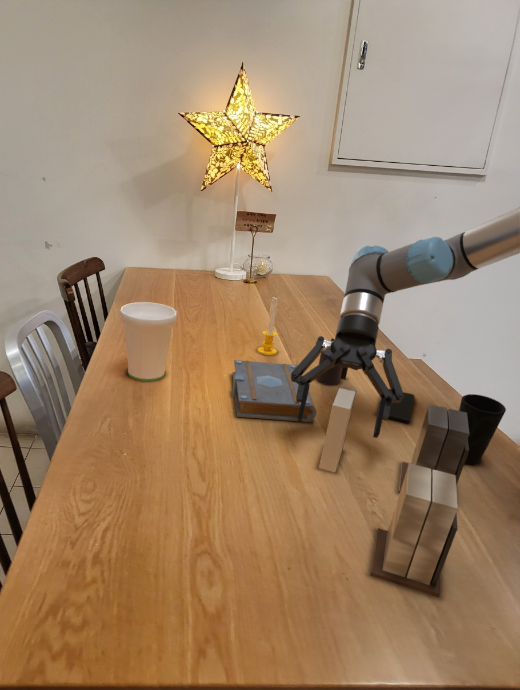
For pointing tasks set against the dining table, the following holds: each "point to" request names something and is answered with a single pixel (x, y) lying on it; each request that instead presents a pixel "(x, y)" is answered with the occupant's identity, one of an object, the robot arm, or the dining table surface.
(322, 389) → the dining table surface
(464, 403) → the cup
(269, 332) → the candle
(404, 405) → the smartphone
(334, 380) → the speaker
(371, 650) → the dining table surface
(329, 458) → the beige rectangular block
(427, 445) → the grey books
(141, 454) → the dining table surface
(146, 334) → the cup
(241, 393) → the book
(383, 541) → the white books
